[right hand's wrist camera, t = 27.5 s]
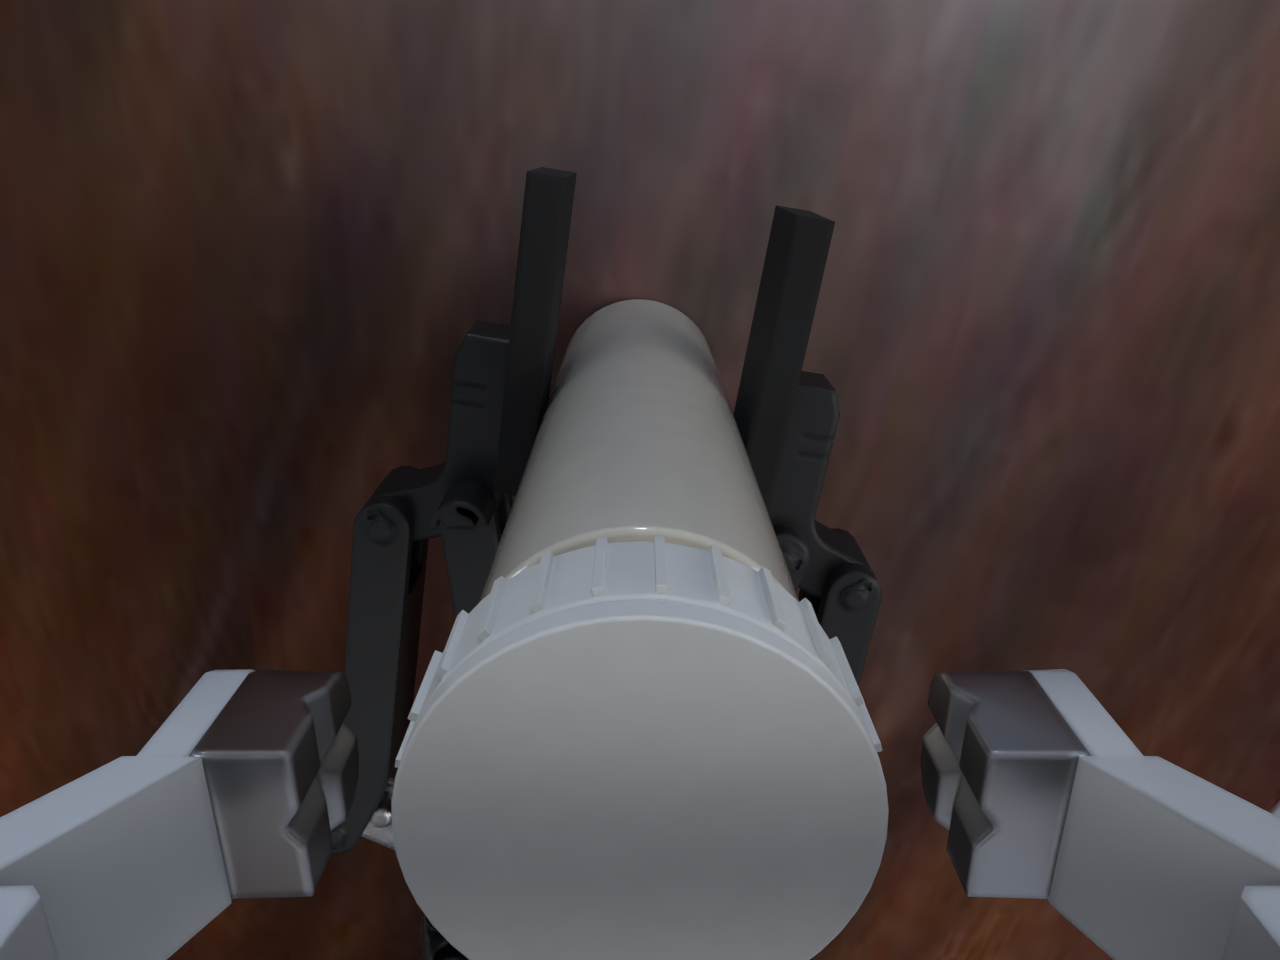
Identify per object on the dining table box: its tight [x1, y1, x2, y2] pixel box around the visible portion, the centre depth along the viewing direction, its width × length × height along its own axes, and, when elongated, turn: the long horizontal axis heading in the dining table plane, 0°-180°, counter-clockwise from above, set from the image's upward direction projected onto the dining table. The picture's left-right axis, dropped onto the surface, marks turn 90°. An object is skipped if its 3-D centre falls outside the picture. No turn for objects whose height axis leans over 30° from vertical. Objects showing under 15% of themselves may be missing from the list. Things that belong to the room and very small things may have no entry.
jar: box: [478, 299, 800, 604], centre depth 18 cm, size 4×4×17 cm
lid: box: [391, 535, 889, 960], centre depth 9 cm, size 5×5×2 cm
